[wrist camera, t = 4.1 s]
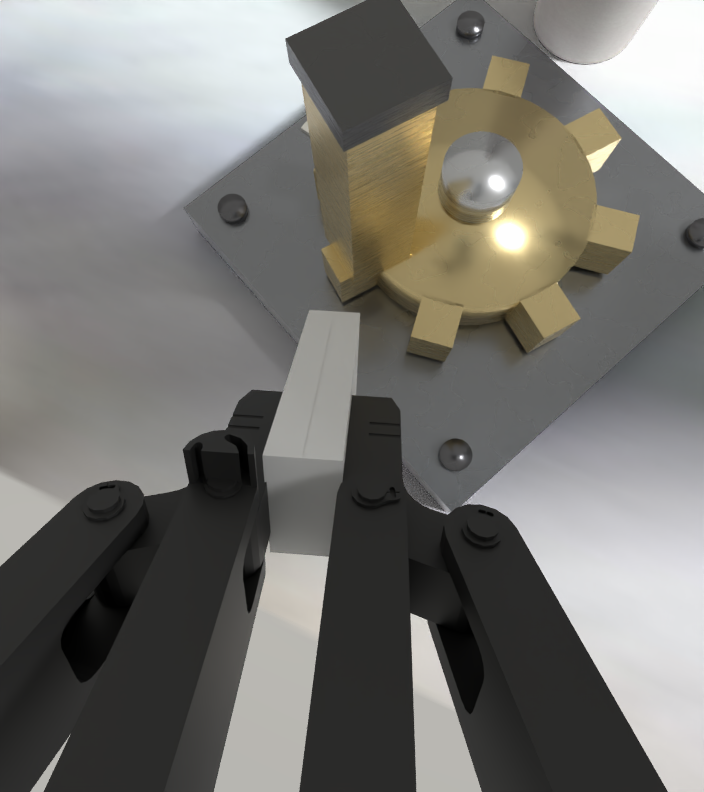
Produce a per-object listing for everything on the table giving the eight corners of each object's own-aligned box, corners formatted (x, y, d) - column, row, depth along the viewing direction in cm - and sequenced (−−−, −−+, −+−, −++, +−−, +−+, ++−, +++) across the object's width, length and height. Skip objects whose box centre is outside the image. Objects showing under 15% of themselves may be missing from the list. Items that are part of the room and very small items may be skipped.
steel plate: (722, 259, 29) (837, 183, 22) (444, 511, 27) (473, 517, 20) (463, 26, 33) (490, -105, 26) (198, 230, 31) (147, 149, 23)
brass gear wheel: (512, 49, 29) (629, -309, 16) (674, 273, 26) (975, 58, 13) (267, 169, 28) (182, -110, 15) (408, 417, 25) (453, 335, 12)
